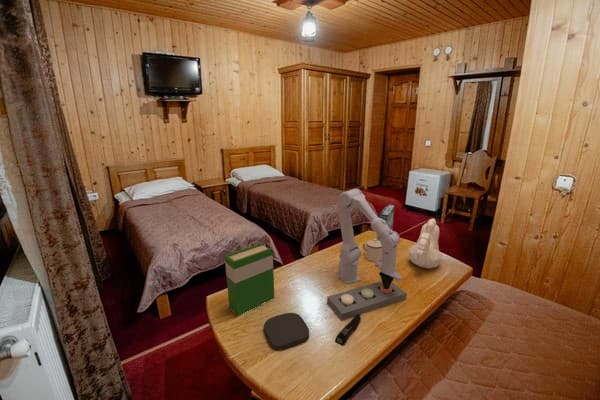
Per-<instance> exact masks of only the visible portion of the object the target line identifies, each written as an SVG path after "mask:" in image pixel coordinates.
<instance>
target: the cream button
mask: <svg viewBox="0 0 600 400" xmlns="http://www.w3.org/2000/svg"><path fill="white" fill-rule="evenodd" d="M353 299H354V298H353V296H351V295H349V294H344V295H342V296H341V303H342V304H343V305H344V306H345V307H346V306H349V305H353Z"/></svg>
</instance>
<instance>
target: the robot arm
mask: <svg viewBox="0 0 600 400" xmlns="http://www.w3.org/2000/svg"><path fill="white" fill-rule="evenodd" d="M337 197H338V198H337V200H338V204H337V213H338V219H339V226H340V231H341V239H342V245H341V246H340V248H339V249H340V253H339V262H338V273H336V275H337V276H338V277H339V278H340V279H341V280H342V281H343V282H344V283H345V284H347V285H349V284H352V283H356V282H360V281H361V280H362V279H361V278H360V277H359V276H358V270H359V269H358V268H359V267H358V266H359V259H360V258H362V251H361V249H360V245H359V244H358V243H357V242H356V241H355V234H354V233H355V232H354V228H353V221H352V220H353V219H352V213H351V210H352V209H359V211H360V212H361V213H362V214H363V215H364V216H365V217H366V218H367V219H368V221H369V222H370V228H372V230H373V231H374V233H375V234H376V235H377V237H378V236H379V237H380V239H381V240H380V242H381V245H382V247H383V249H382V260H381V261H378V262H374V266H375V267H377V268H378V269H379V271H380V272H379V273H378V274H379V276H380V279H381V281H382V283H383V288H384V289H388V288H389V287H390V285H391V282H392V283H393V281H394V280H395V281H396V282H397V283H400V282H402V278H403V277H402V276H401V275H400V274H399V272H398V271H397V267H396V263H397V254H398V253H397V251H398V245H399V244H400V242H401V237H400V235H399V233H398V232H397V231H394V230H393V229H392V230H391V229H390V228H389V227H388V225H387V224H386V221H385V220H383V219H382V218H379V217H378V216H377V214H376V213H375V212H374V210H373V208H372V207H371V205H370V204H369V203H368V201H367V200H366V195H365V194H364V193H363V192H362V190H360V189H359V188H353V189H350V190H347V191H343V192H341V193H340V195H338V196H337Z"/></svg>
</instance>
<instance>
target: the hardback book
mask: <svg viewBox="0 0 600 400" xmlns="http://www.w3.org/2000/svg"><path fill="white" fill-rule="evenodd" d="M273 252H274V251H273V248H272V247H269V248H268V247H266V246H265V243H264V242H261V243H257V244H254V245H252V246H249V247H246V248H242V249H240V250H236V251H234V252H231V253H228V254H224V262H225V263H224V264H225V274H226V284H227V287H226V288H227V294H228V296H227V297H228V307H229V309H230V308H231V309H232V310H233V311H234V312H235V313H234V312H233V311H232V310H231V309H230V310H231V311H232V312H233V313H234V314H235V315H236V316H237V317H240V316H242V315H244V314H246V313H248V312H250V311H252V310H254V309H256V308H258V307H260V306H262V305H263V304H262V303H264V302H267V301H269V300H271V299H273V298H274V299H275V281H274V280H275V275H274V274H275V273H274V255H273V254H274V253H273ZM274 299H273V300H274ZM271 301H272V300H271ZM269 302H270V301H269ZM267 303H268V302H267ZM261 304H262V305H261ZM259 305H260V306H259ZM257 306H258V307H257ZM255 307H256V308H255ZM253 308H254V309H253ZM251 309H252V310H251ZM249 310H250V311H249ZM247 311H248V312H247ZM245 312H246V313H245ZM243 313H244V314H243ZM241 314H242V315H241ZM239 315H240V316H239Z"/></svg>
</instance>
